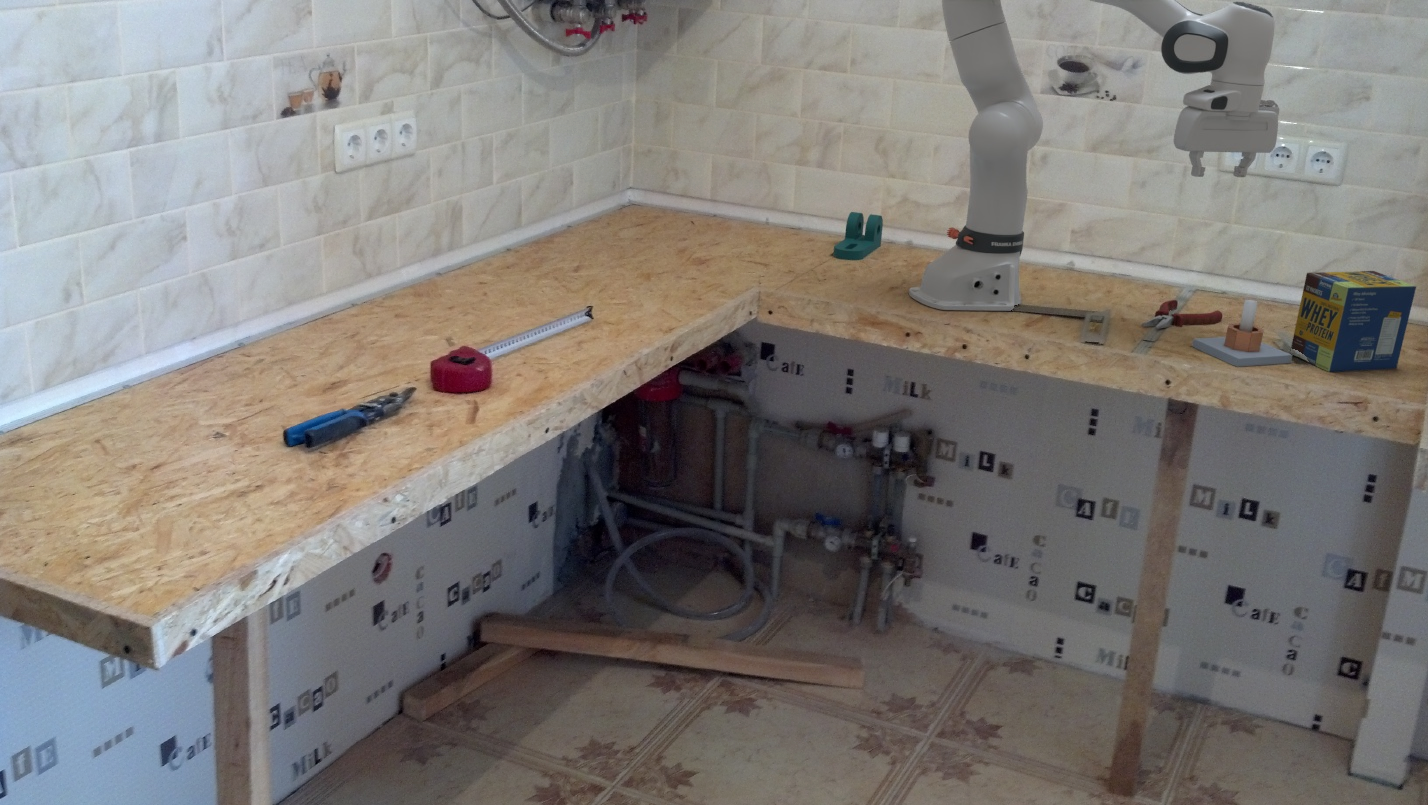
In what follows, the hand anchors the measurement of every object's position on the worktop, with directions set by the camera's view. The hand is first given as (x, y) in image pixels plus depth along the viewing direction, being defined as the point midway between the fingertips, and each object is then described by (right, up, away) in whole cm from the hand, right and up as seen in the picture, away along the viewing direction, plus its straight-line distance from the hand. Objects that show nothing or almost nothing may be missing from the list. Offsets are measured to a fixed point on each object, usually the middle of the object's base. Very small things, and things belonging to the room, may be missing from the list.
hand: (1218, 176), depth 245 cm
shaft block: (+4, -32, 0) cm, 32 cm away
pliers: (-2, -25, +22) cm, 33 cm away
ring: (+4, -31, 0) cm, 31 cm away
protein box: (+23, -34, 0) cm, 40 cm away
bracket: (-59, -7, +61) cm, 85 cm away
